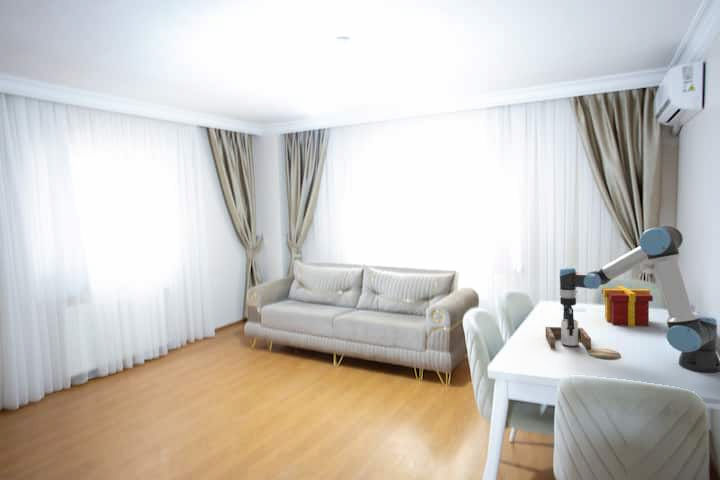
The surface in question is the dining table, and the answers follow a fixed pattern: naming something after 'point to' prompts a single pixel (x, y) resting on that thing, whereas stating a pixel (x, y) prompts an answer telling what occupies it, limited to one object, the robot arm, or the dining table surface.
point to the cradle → (556, 333)
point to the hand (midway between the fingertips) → (568, 338)
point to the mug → (565, 332)
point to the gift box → (627, 306)
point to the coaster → (604, 353)
